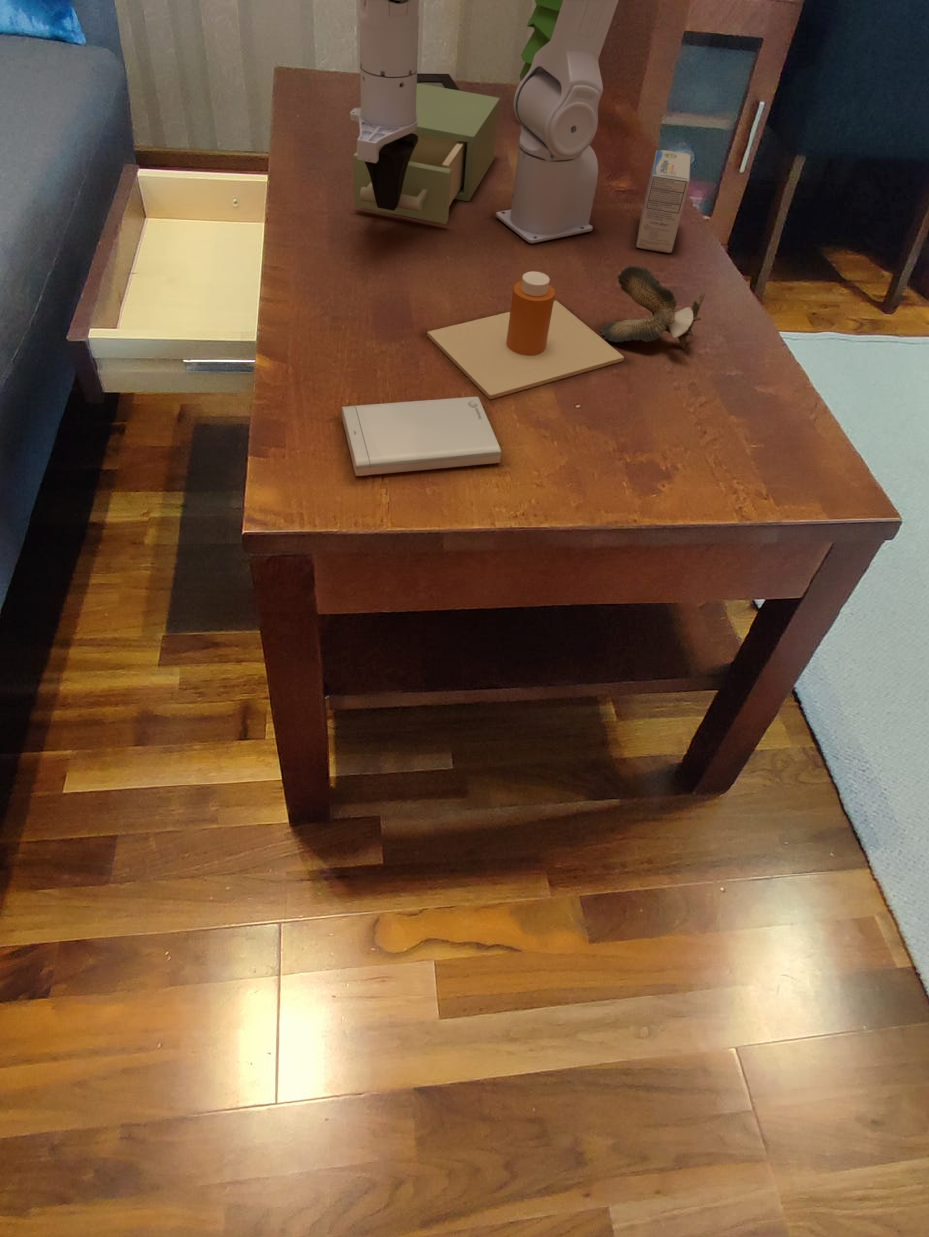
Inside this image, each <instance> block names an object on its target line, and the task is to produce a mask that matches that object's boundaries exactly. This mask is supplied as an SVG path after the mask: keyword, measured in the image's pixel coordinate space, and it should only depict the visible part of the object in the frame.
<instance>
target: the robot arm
mask: <svg viewBox="0 0 929 1237" xmlns="http://www.w3.org/2000/svg"><path fill="white" fill-rule="evenodd" d="M618 3H619V0H563V2H562V5H561V9H560V12H559V15H558V18H557V22H556V25H555V28H554V31H553V35H552V38H551V40H550V41H549V42H548V43H547V44H546V45H545V46H544V47H542V48H541V49H540V50H539V51H538V52H537V53H536V54H535V56H534V59H533V62H532V65H531V68H530V70H529V72H528V73H527V75H526V76H525V77H524V79H523V80H522V81H521V80H520V83H519V84H518V86H517V87H516V90H515V94H514V98H513V112H514V115H515V118H516V120H517V122H518V123H519V125H520V133H519V138H518V140H519V141H518V147H517V148H518V149H517V158H516V164H515V165H516V166H515V175H514V183H513V191H512V199H511V208H510V209H506V210H501V211H496V213H495V217H496V218H497V219H498V220H499V221H501V222H502V223H503V224H505V226H507V227H508V228H510V230H512V231H513V232H515V233H516V234H517V235H518V236H519V237H521V238H522V239H523V240H525V241H526V242H527V243H529V244H537V243H541V242H546V241H550V240H551V241H552V240H555V239H561V238H566V237H569V236H575V235H580V234H584V233H589V232H592V231H593V225H591V224H590V221H591V215H592V211H593V210H592V209H593V204H594V200H595V195H596V188H597V185H598V184H597V183H598V179H599V178H598V177H599V164H598V158H597V155H596V152H595V150H594V149H593V148H592V146H591V144H592V142H593V140H594V138H595V137H596V133H597V130H598V125H599V104H600V101H601V97H602V95H603V92H604V84H603V80H602V74H601V69H600V65H599V64H600V63H599V58H600V55H601V53H602V49H603V48H604V44H605V41H606V38H607V36H608V32H609V29H610V27H611V24H612V21H613V17H614V16H615V12H616V9H617V6H618ZM419 7H420V0H359V13H358V15H359V16H358V17H359V73H360V74H359V76H360V78H359V79H360V81H359V82H360V84H359V85H360V86H359V87H360V89H359V90H360V107H354V108H353V109H352V110H351V111H350V112H349V120H350V121H352V122H356V123H358V128H359V129H358V130H359V136H358V137H357V139H356V152H357V160H361V161H364V162H365V164H366V166H367V169H368V172H369V175H370V178H371V182H372V186H373V191H374V196H375V200H376V204H377V207H378V208H382V209H387V210H392V211H395V209H396V208H397V206H398V204H399V200H400V196H401V191H402V187H403V182H404V177H405V173H406V169H407V166H408V163H409V160H410V157H411V155H412V153H413V150H414V148H415V146H416V145H417V142H418V136H417V135H416V134H413V133H412V132H414V131H415V130H416V129H417V113H416V99H417V97H416V92H417V73H418V56H419V26H420V25H419V24H420V17H419V15H420V14H419V12H420V11H419V9H420V8H419Z"/></svg>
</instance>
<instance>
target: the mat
mask: <svg viewBox="0 0 929 1237" xmlns="http://www.w3.org/2000/svg"><path fill="white" fill-rule="evenodd" d="M509 318H510V311H506V312H503V313H499V314H494V315H491V316H486V317H482V318H478V319H473V320H470V321H465V322H462V323H458V324H457V323H456V324H453V325H449V326H445V327H441V328H437V329H433V330H427V335H426V337H428V338H429V339H430V341H432V342H433V343H434V344H435V345H436V347H438V349H439V350H440V351H441V352H442V353H443V354H444V355H445V356H446V357H447V358H448V359H449V360H450V361H451V362H452V363H453V364H454V365H455V366H456V367H457V368H458V369H459V370H460V371H461V372H462V373H463V374H464V376H466V377H467V378H468V380H470V381H471V382H472V383H473V384H474V385H475V387H476V388H478V389H479V391H481V392H482V394H484V395H485V397H486V398H488V400H493V399H497V398H501V397H505V396H507V395H510V394H513V393H517V392H521V391H524V390H527V389H531V388H535V387H539V386H542V385H546V384H549V383H552V382H555V381H559V380H563V379H566V378H569V377H573V376H576V375H581V374H583V373H584V374H585V373H586V372H591V371H594V370H598V369H601V368H604V367H607V366H611V365H614V364H618V363H621V362H624V360H625V356H624V355H623V354H622V353H620V352H619V351H618V350H617V349H615V348H614V347H613V346H612V345H611V344H609V343H608V342H607V341H606V340H605V339H603V337H601V336H600V335H598V334H597V333H596V332H595V331H593V330H592V329H591V328H590V327H589V326H588V325H587V324H585V323H584V322H583V321H582V320H580V319H579V318H578V317H577V316H576V315H574V314H573V312H571V311H569V310H568V309H567V308H566V307H565V306H563V304H561V303H560V302H559V301H558V300H554V302H553V308H552V314H551V320H550V326H549V332H548V337H547V343H546V348H545V350H544V351H543V352H542V353H540V354H537V355H531V356H529V355H521V354H518V353H515V352H513V351H512V350H510V349H509V348H508V346H507V344H506V341H507V333H508V326H509Z"/></svg>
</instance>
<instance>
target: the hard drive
mask: <svg viewBox="0 0 929 1237" xmlns="http://www.w3.org/2000/svg"><path fill="white" fill-rule="evenodd" d="M341 421H342V424H343V429H344V433H345V437H346V441H347V446H348V450H349V453H350V458H351V462H352V467H353V472H354V475H355V477H362V476H371V475H384V474H396V473H404V472H416V471H426V470H428V471H429V470H437V469H439V470H440V469H448V468H449V469H450V468H458V467H469V466H480V465H491V464H500V462H501V458H502V449H501V447H500V444H499V442H498V440H497V436H496V435H495V433H494V430H493V428H492V426H491V422H490V421H489V418H488V416H487V413H486V412H485V409H484V407H483V404H482V402H481V399H480V397H479V396H465V397H455V398H454V397H453V398H452V397H451V398H441V399H427V400H414V401H413V400H412V401H400V402H387V403H374V404H373V403H372V404H359V405H349V406H341Z"/></svg>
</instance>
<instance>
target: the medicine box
mask: <svg viewBox="0 0 929 1237" xmlns="http://www.w3.org/2000/svg"><path fill="white" fill-rule="evenodd" d="M691 169H692V155H691V154H689V153H684V152H679V151H672V150H664V149H656V150H655V153H654V157H653V160H652V164H651V169H650V174H649V177H648V183H647V186H646V191H645V195H644V199H643V204H642V207H641V211H640V212H641V213H640V218H639V225H638V232H637V239H636V243H635V244H636V245H635V247H636V248H637V249H642V250H648V251H653V252H660V253H666V254H670V253H672V252H673V249H674V245H675V242H676V241H675V240H676V237H677V233H678V229H679V225H680V221H681V219H682V214H683V209H684V206H685V202H686V198H687V194H688V191H689V187H690V183H691V172H692V171H691Z"/></svg>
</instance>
